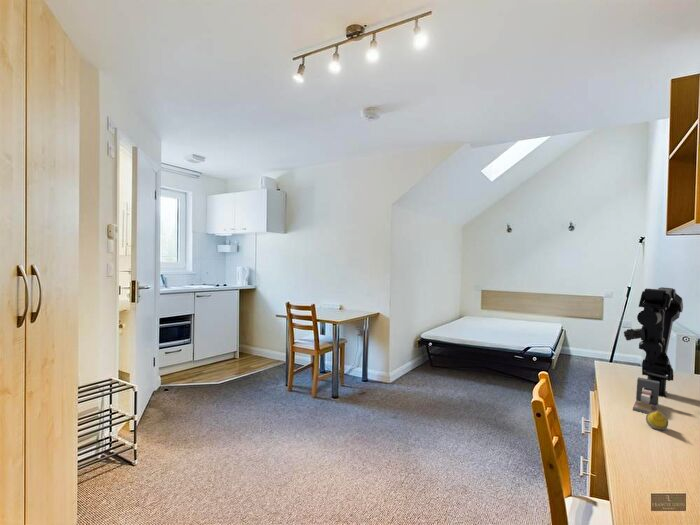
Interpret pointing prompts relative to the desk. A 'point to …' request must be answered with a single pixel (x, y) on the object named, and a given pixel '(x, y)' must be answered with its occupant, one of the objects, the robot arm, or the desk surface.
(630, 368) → the desk surface
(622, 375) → the desk surface
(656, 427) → the yellow cone
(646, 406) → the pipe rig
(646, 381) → the collar
